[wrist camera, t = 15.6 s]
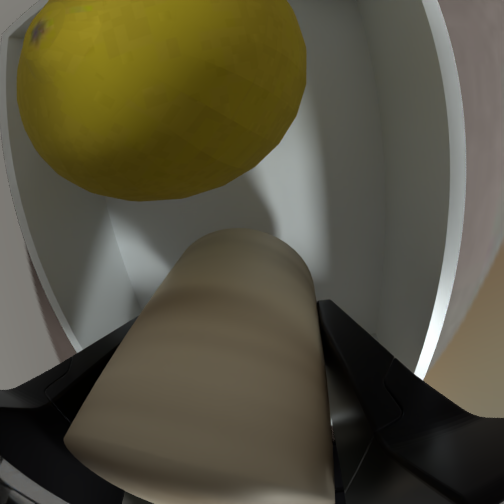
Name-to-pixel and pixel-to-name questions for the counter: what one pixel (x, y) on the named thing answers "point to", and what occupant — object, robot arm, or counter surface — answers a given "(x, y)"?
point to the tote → (285, 186)
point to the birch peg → (217, 384)
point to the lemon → (159, 91)
